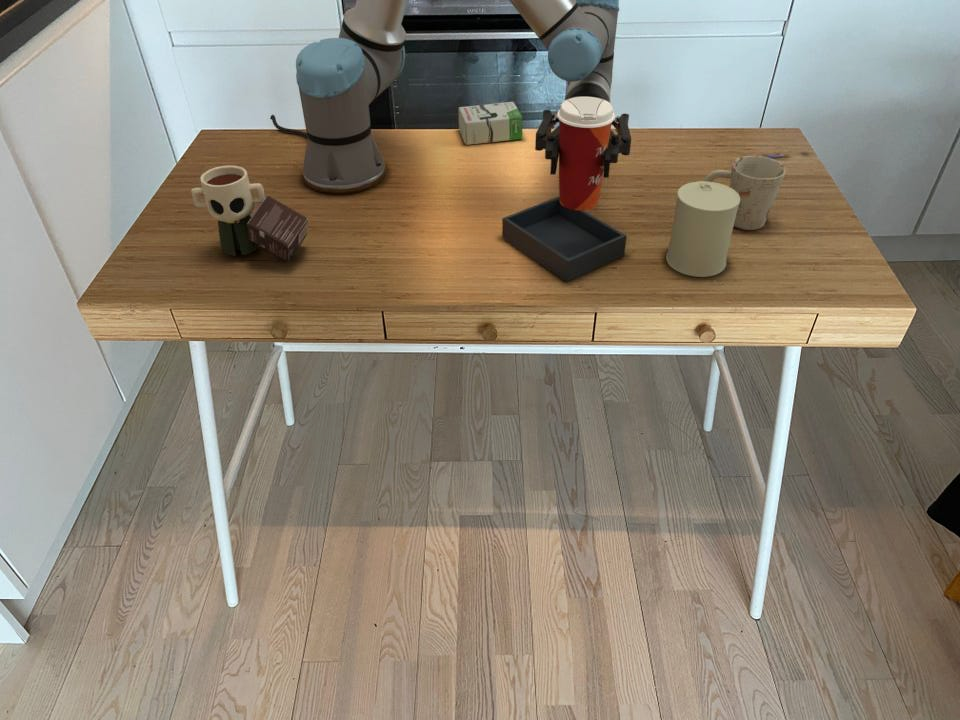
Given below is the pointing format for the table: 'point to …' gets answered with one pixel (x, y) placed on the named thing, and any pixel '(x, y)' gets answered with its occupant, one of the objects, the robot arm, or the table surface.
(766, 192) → the mug
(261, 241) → the box
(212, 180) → the character mug
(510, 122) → the ink box
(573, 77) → the robot arm
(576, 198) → the coffee cup
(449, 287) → the table surface
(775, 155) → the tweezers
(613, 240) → the tray
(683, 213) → the can
